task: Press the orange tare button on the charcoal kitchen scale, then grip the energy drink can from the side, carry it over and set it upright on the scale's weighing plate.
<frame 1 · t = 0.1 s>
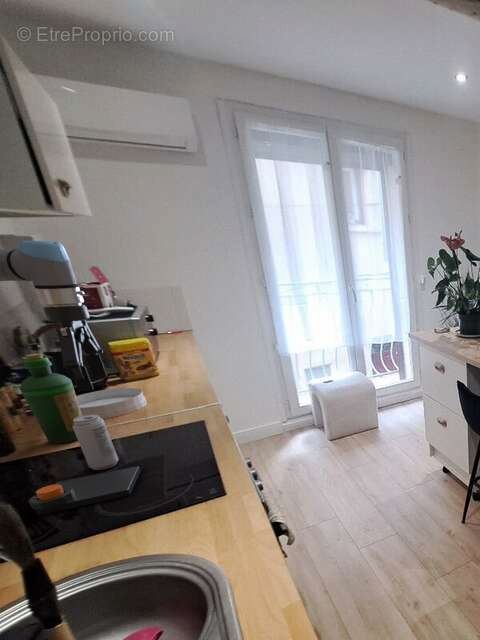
hand: (93, 383, 112), 24 cm above the counter, tool pointing down, fingers open, 13 cm apart
dish: (108, 410, 155), on the counter
scale: (94, 491, 105), on the counter
energy drink can: (105, 466, 117), on the counter
tare button: (50, 492, 97), point 4 cm above the counter, slide at 0.1 cm
bottle: (69, 439, 132), on the counter
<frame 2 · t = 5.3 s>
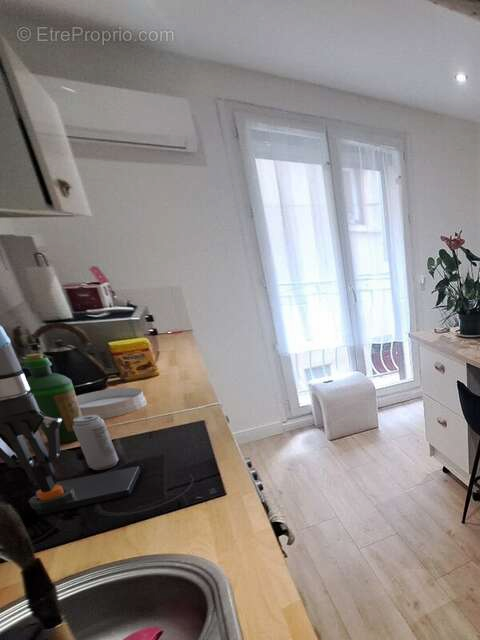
hand: (48, 488, 97), 5 cm above the counter, tool pointing down, fingers closed
tare button: (50, 493, 97), point 4 cm above the counter, slide at -0.1 cm, touching gripper
everything else where it was.
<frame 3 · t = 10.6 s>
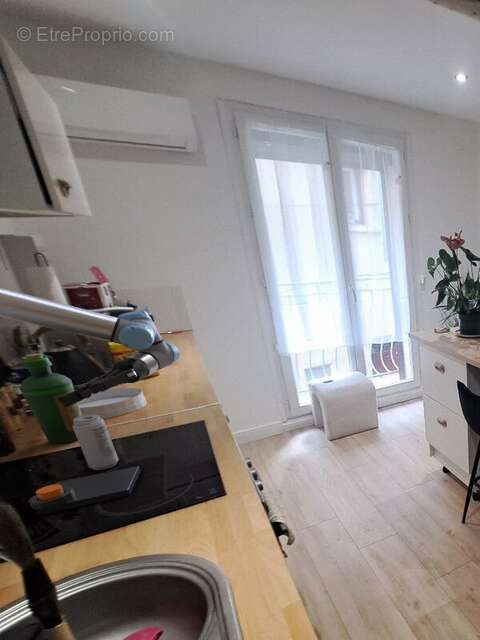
hand: (64, 402, 109), 20 cm above the counter, tool horizontal, fingers closed
tare button: (50, 492, 97), point 4 cm above the counter, slide at 0.1 cm
everything else where it was.
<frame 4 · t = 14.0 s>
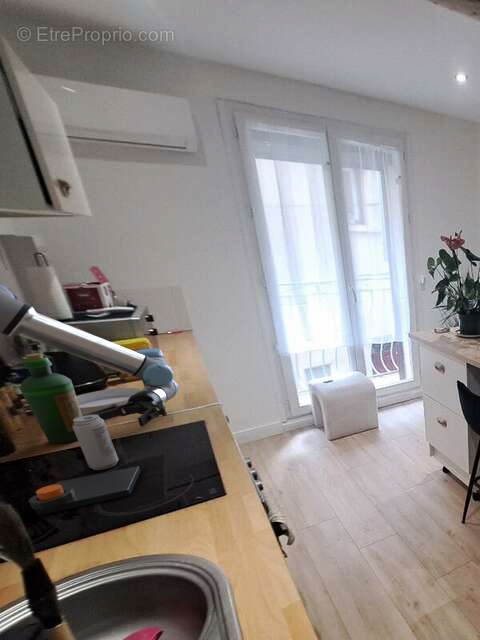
hand: (111, 424, 121), 9 cm above the counter, tool horizontal, fingers open, 13 cm apart
nothing on the counter moved.
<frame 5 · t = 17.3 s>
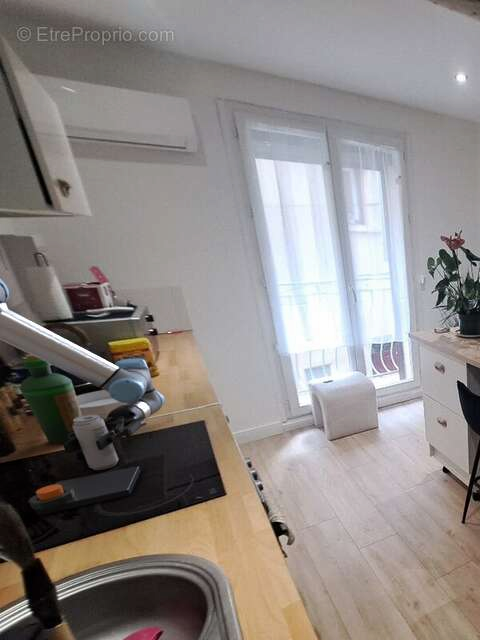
hand: (82, 447, 109), 8 cm above the counter, tool horizontal, fingers closed on energy drink can, 6 cm apart
energy drink can: (105, 466, 117), on the counter, touching gripper
everything else where it was.
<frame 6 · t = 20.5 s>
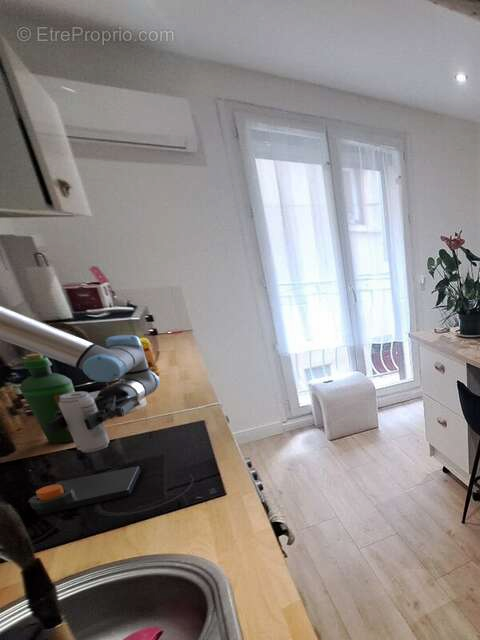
hand: (70, 426, 100), 18 cm above the counter, tool horizontal, fingers closed on energy drink can, 6 cm apart
energy drink can: (95, 448, 107), point 9 cm above the counter, touching gripper
everything else where it was.
when the fingers open (10 cm above the counter, at t = 23.7 s): energy drink can stays where it is, resting on scale.
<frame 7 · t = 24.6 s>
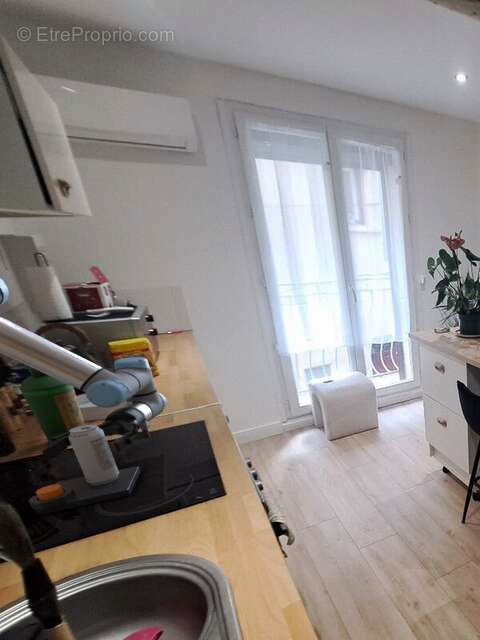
hand: (82, 451, 101), 12 cm above the counter, tool horizontal, fingers open, 13 cm apart
energy drink can: (104, 480, 107), point 2 cm above the counter, touching scale
everything else where it was.
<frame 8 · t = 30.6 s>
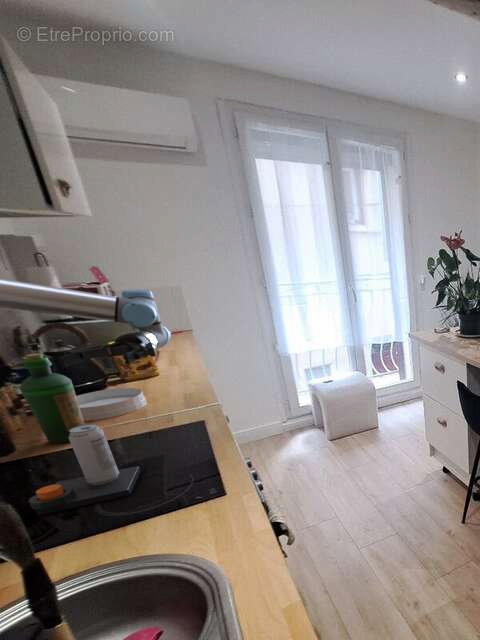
hand: (94, 361, 110), 30 cm above the counter, tool horizontal, fingers open, 13 cm apart
nothing on the counter moved.
at the end: tare button pushed in 1.0 cm at the most during the clip, back to where it started at the end; energy drink can inside the target area on the scale (1.1 cm from its centre), point 1.5 cm above the scale's base; energy drink can tilted 0° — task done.
